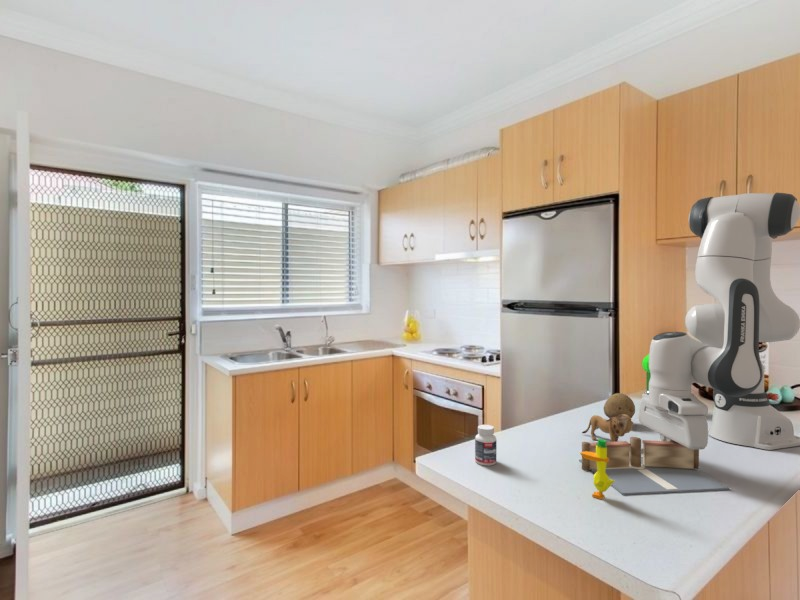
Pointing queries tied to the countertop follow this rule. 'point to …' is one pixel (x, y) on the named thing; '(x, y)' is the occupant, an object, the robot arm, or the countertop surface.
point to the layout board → (659, 480)
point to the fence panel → (669, 455)
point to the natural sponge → (619, 406)
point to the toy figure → (599, 468)
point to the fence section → (615, 454)
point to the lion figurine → (611, 426)
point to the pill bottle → (485, 445)
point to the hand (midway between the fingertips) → (669, 454)
